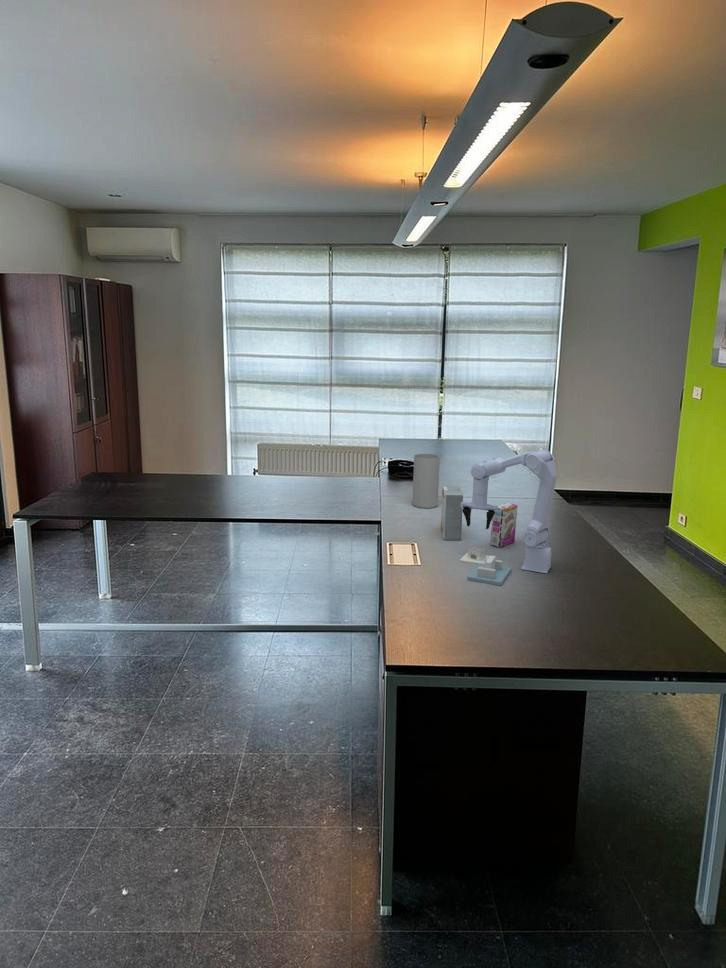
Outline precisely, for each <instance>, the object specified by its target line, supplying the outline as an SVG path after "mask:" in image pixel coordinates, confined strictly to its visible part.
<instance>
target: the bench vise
mask: <svg viewBox="0 0 726 968" xmlns="http://www.w3.org/2000/svg"><path fill="white" fill-rule="evenodd" d="M489 556H490V557H489V558H486V559H485V564H483V563H479V564H476V566H475V568H473V570H472V571H470V573H469V574H468V576H467V578H466V580H467V581H471V582H475V583H481V584H482V583H483V584H487V585H493V584H494V585H495V586H499V585H500V587H501V586H502V585H503V583H504V582H505V581H506V579H507V578H506V577H508V576H509V574H510V573H511V571H512V567H507V566H503V560H500V559H497V555H496V556H495V555H489ZM504 580H505V581H504Z"/></svg>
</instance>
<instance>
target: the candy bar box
mask: <svg viewBox="0 0 726 968" xmlns="http://www.w3.org/2000/svg"><path fill="white" fill-rule="evenodd" d="M497 506H498V511H497V512H495V514H494V516H493V518H492V520H491V531H490V532H491V533H490V542H489V545H490V546H491V547H496V548H498V549H499V548H503V547H505V546H509V545H511V544H514V543H515V541H516V540H515V538H516V529H517V527H516V526H517V519H518V517H517V515H518V504H514V503H509V502H508V503H507V502H506V503H502V504H499V505H497Z"/></svg>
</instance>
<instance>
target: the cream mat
mask: <svg viewBox="0 0 726 968" xmlns="http://www.w3.org/2000/svg"><path fill="white" fill-rule="evenodd" d="M467 555H468V551H467V552H466V553H465V554H464V555H463V556H462V557H461V558H460V560H459V561H460V562H465V563H469V564H470V563H471V564H476V565H478V564H479V563H483V564H485V559H486V558H489V557H490V556H491V555H487V554H486V557H485V559H483V560H481V561H477V554H476V556H475V557H473V558H467Z"/></svg>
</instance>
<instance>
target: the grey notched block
mask: <svg viewBox="0 0 726 968" xmlns="http://www.w3.org/2000/svg"><path fill="white" fill-rule="evenodd" d="M467 552H468V555H467V558H473V557H475V556H476V554H477V561H481V560H483V559H485V557H486V555H487V554H486V553H487V549H486V548H481V547H478V546H474V545H473V546H470V547H469V548H468V547H467Z"/></svg>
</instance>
